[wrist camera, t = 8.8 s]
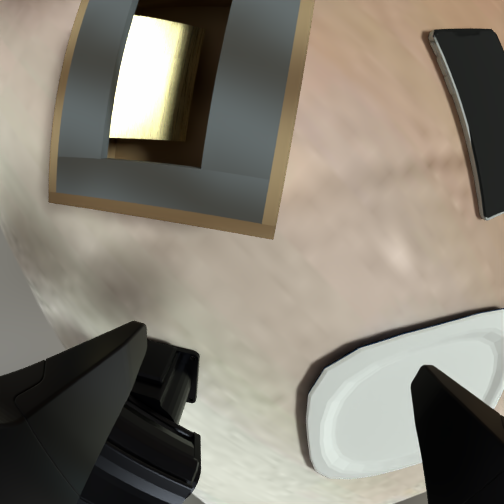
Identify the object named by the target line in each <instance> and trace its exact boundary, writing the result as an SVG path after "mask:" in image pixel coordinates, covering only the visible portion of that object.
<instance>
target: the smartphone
mask: <svg viewBox="0 0 504 504" xmlns="http://www.w3.org/2000/svg"><path fill="white" fill-rule="evenodd" d="M428 39H429V41H430V45H431V47H432V49H433V51H434V54H435V55H436V56H437V59H436V60H437V62H438V64H439V67H440V69H441V72H442V74H443V76H445V77H444V79H445V82H446V85H447V87H448V90H449V93H450V94H452V97H453V100H454V103H455V106H456V109H457V112H458V115H459V119H460V122H461V126H462V129H463V133H464V136H465V140H466V144H467V148H468V152H469V157H470V161H471V166H472V171H473V176H474V181H475V187H476V193H477V199H478V206H479V214H480V216H481V218H482V219H484V220H490V219H492V218H494V217H496V216H499V215H501V214H503V213H504V50H503V48H502V46H501V43H500V41H499V39H498V36H497V34H496V33H495V32H494V31H493V30H492V29H439V30H433V31H431V32H430V34H429V38H428Z"/></svg>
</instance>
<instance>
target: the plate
mask: <svg viewBox="0 0 504 504" xmlns="http://www.w3.org/2000/svg"><path fill="white" fill-rule="evenodd" d="M422 365H434V366H435V367H436V368H438V369H439V370H441V371H442V372H443V373H445V374H446V375H447V376H449V377H450V378H452V379H453V380H454V381H456V382H457V383H458V384H460V385H461V386H463V387H464V388H465V389H467V390H468V391H469V392H471V393H472V394H473V395H475V396H476V397H478V398H479V399H480V400H482V401H483V402H484V403H486V404H487V405H488V406H490V407H491V408H492V409H494V408H495V406H496V404H497V402H498V400H499V398H500V396H501V394H502V392H503V390H504V308H502V309H496V310H491V311H485V312H480V313H476V314H472V315H469V316H465V317H462V318H458V319H455V320H451V321H447V322H443V323H440V324H436V325H433V326H429V327H425V328H421V329H418V330H414V331H410V332H406V333H402V334H399V335H396V336H393V337H390V338H387V339H384V340H381V341H377V342H374V343H371V344H368V345H364V346H361V347H358V348H357V349H355V350H353V351H352V352H350V353H348V354H347V355H345V356H343V357H342V358H340V359H338V360H337V361H335V362H333V363H331V364H330V365H328V366H326V367H324V369H323V371H322V372H321V374H320V376H319V377H318V379H317V380H316V382H315V383H314V385H313V387H312V388H311V390H310V391H309V393H308V401H307V411H306V429H307V440H308V448H309V455H310V459H311V462H312V464H313V467H314V469H315V471H316V472H318V473H320V474H321V475H323V476H325V477H327V478H333V479H356V478H363V477H369V476H375V475H379V474H384V473H388V472H392V471H396V470H399V469H403V468H406V467H410V466H413V465H416V464H419V463H422V458H421V453H420V447H419V442H418V437H417V432H416V427H415V420H414V412H413V404H412V396H411V389H410V388H411V383H412V381H413V379H414V377H415V376H416V374H417V372H418V371H419V369H420V367H421V366H422Z"/></svg>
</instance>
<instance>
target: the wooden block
mask: <svg viewBox="0 0 504 504" xmlns="http://www.w3.org/2000/svg"><path fill="white" fill-rule="evenodd" d="M205 30H206V29H203V28H199V27H195V26H191V25H186V24H182V23H177V22H172V21H167V20H162V19H156V18H150V17H143V16H136V15H134V17H133V21H132V24H131V28H130V31H129V35H128V39H127V43H126V47H125V51H124V55H123V60H122V64H121V69H120V74H119V78H118V84H117V89H116V95H115V101H114V107H113V113H112V120H111V128H110V136H109V138H137V139H155V140H170V141H182V142H185V139H186V132H187V126H188V119H189V113H190V107H191V101H192V95H193V89H194V84H195V78H196V73H197V68H198V63H199V58H200V53H201V48H202V43H203V39H204V34H205Z"/></svg>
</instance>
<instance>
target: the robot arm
mask: <svg viewBox="0 0 504 504" xmlns="http://www.w3.org/2000/svg"><path fill="white" fill-rule="evenodd" d="M192 356H193V357H195V358H193V357H192ZM199 359H200V356H199V354H198V353H197V352H195V351H191V350H186V349H182V348H178V347H174V346H170V345H166V344H162V343H158V342H154V341H150V340H147V328H146V325H145V324H144V323H141V322H137V321H131V322H129V323H127V324H125V325H122V326H120V327H118V328H116V329H113V330H111V331H109V332H107V333H104V334H102V335H100V336H98V337H95V338H93V339H91V340H89V341H86V342H84V343H82V344H79V345H77V346H75V347H73V348H70V349H68V350H66V351H64V352H61V353H59V354H57V355H54V356H52V357H50V358H47V359H46V361H45V360H43V361H41V362H38V363H36V364H33V365H31V366H28V367H26V368H23V369H20V370H18V371H15V372H12V373H9V374H6V375H3V376H0V504H182V503H183V501H184V500H185V499H186V498H187V497H188V496H189V495H190V494H191V493H192V492H193V490H194V489H195V487H196V485H197V483H198V480H199V478H200V473H201V441H200V435H199V434H197V433H195V432H191V431H189V430H187V429H186V428H184V427H182V426H180V425H178V424H179V421H180V418H181V415H182V412H183V409H184V406H185V403H186V402H189V403H194V402H195V401H196V398H197V384H198V371H199ZM410 389H411V396H412V404H413V412H414V420H415V427H416V432H417V437H418V442H419V447H420V453H421V458H422V464H423V470H424V476H425V483H426V490H427V498H428V504H504V417H503V416H502V415H500V414H499V413H498V412H496V411H495V410H494V409H492V408H491V407H490V406H488V405H487V404H486V403H484V402H483V401H482V400H480V399H479V398H478V397H476V396H475V395H473V394H472V393H471V392H469V391H468V390H467V389H465V388H464V387H463V386H461V385H460V384H458V383H457V382H456V381H454V380H453V379H452V378H450V377H449V376H447V375H446V374H445V373H443V372H442V371H441V370H439V369H438V368H436V367H435V366H434V365H422V366H421V367H420V369H419V371H418V372H417V374H416V376H415V377H414V379H413V381H412V383H411V388H410ZM191 398H192V399H191Z"/></svg>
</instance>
